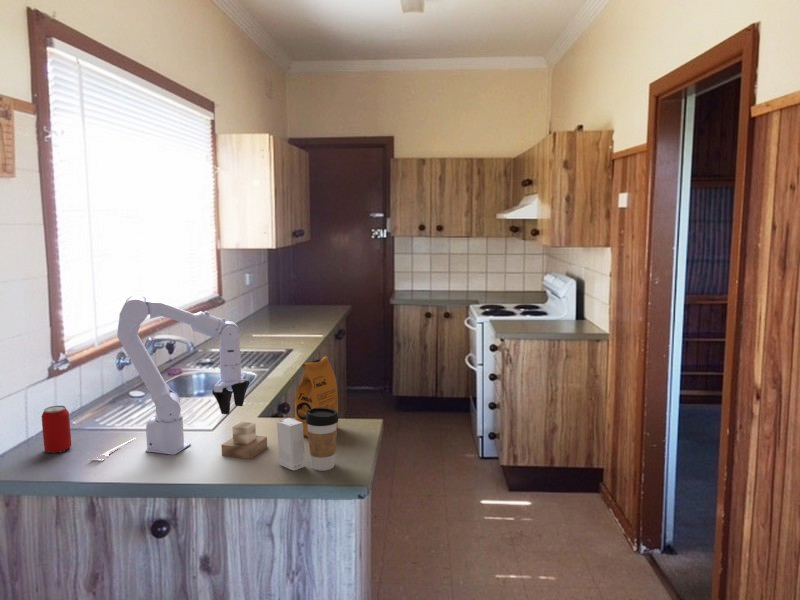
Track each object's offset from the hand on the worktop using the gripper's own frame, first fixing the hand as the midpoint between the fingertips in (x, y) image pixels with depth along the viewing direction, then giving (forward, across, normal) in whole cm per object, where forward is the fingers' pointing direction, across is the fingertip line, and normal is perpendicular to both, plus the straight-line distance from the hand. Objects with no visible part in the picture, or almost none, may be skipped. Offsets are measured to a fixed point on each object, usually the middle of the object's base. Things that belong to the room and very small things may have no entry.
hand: (232, 409), depth 185 cm
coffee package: (+10, +14, -20) cm, 26 cm away
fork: (+10, -15, +28) cm, 34 cm away
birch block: (+6, -6, -7) cm, 11 cm away
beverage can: (+10, -19, +44) cm, 49 cm away
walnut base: (+9, -6, -7) cm, 13 cm away
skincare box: (+10, -12, -24) cm, 28 cm away
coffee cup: (+10, -10, -32) cm, 35 cm away
